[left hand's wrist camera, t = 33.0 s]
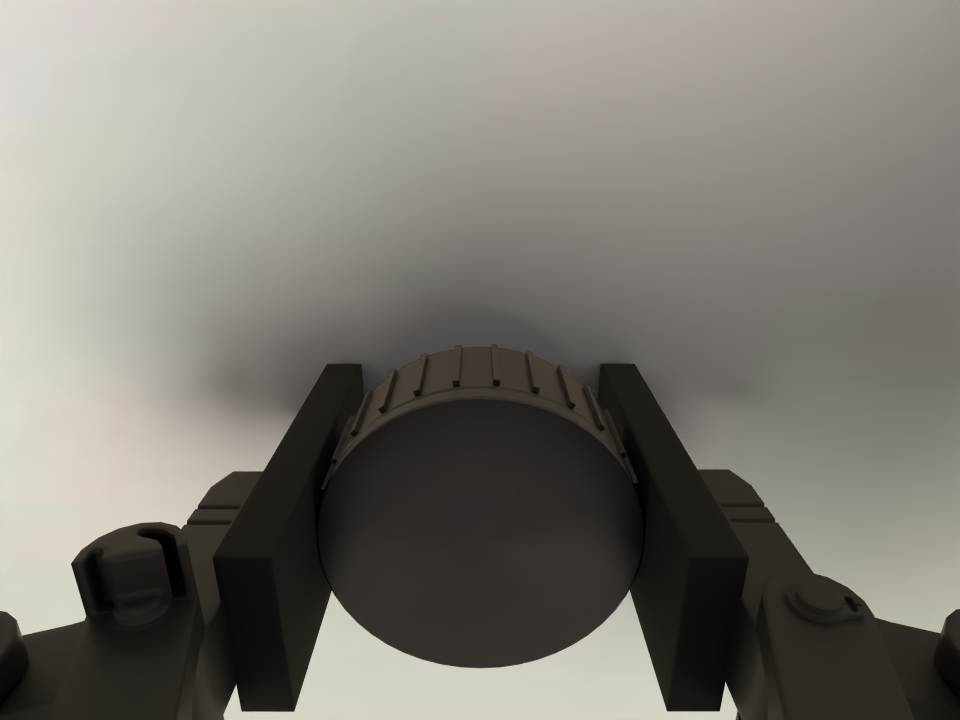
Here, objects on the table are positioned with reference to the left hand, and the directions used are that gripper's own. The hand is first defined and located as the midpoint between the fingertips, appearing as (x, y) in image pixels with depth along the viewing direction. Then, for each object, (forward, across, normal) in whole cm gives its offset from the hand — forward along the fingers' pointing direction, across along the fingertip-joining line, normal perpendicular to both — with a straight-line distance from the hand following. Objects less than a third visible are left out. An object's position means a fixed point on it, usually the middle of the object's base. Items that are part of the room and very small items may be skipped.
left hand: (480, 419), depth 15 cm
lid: (-4, 0, 0) cm, 4 cm away
